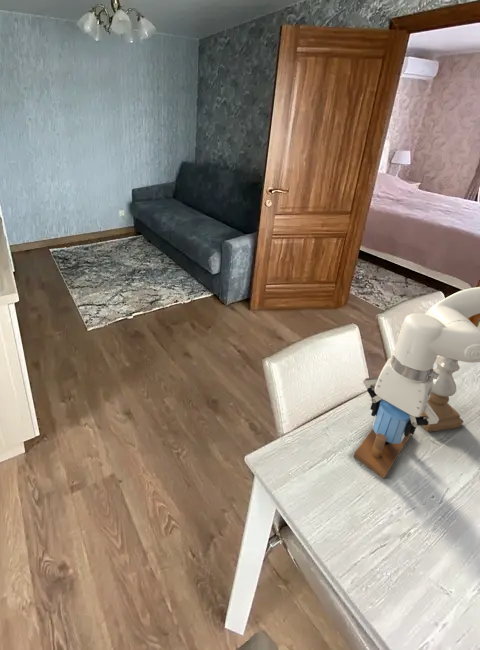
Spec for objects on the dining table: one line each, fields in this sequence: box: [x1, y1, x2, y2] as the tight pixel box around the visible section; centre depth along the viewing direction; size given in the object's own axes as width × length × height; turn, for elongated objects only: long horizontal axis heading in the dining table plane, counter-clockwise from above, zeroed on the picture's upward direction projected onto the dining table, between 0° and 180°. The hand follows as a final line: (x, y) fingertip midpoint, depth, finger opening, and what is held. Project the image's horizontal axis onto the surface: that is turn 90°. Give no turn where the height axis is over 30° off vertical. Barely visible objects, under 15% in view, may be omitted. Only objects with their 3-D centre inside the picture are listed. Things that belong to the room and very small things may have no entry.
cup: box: [372, 399, 410, 444], centre depth 84 cm, size 7×7×8 cm
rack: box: [353, 428, 412, 479], centre depth 86 cm, size 18×7×8 cm, turn 130°
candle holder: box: [420, 355, 464, 433], centre depth 93 cm, size 11×11×24 cm
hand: (390, 422), depth 85 cm, fingers closed on cup, 6 cm apart
